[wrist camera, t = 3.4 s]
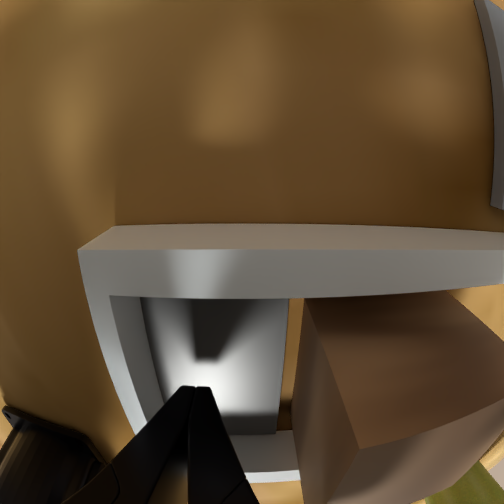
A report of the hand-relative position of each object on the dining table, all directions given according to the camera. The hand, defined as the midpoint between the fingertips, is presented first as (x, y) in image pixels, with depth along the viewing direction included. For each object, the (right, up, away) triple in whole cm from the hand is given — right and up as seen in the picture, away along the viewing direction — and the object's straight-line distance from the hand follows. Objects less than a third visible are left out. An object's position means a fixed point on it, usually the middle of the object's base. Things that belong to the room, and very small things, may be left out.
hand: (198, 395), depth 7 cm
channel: (+6, 0, +1) cm, 7 cm away
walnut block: (+5, 0, +1) cm, 6 cm away
